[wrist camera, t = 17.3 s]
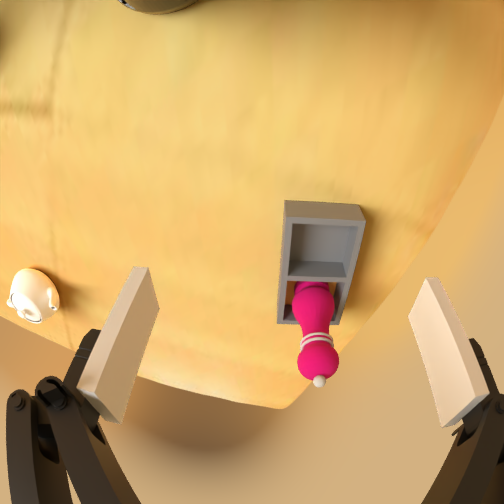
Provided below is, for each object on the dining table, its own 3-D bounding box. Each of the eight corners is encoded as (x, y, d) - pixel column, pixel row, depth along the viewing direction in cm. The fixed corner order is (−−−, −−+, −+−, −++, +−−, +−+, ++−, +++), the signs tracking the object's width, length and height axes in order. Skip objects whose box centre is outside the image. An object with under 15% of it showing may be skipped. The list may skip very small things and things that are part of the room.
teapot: (32, 304, 67) (14, 333, 59) (7, 265, 59) (-15, 293, 51) (87, 303, 64) (68, 338, 55) (59, 257, 56) (34, 291, 47)
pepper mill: (283, 284, 54) (282, 384, 38) (317, 265, 51) (330, 367, 35) (305, 307, 57) (311, 402, 41) (338, 289, 54) (354, 386, 38)
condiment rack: (276, 305, 59) (276, 325, 55) (284, 200, 46) (285, 216, 42) (335, 307, 59) (338, 326, 55) (358, 204, 45) (366, 221, 41)
